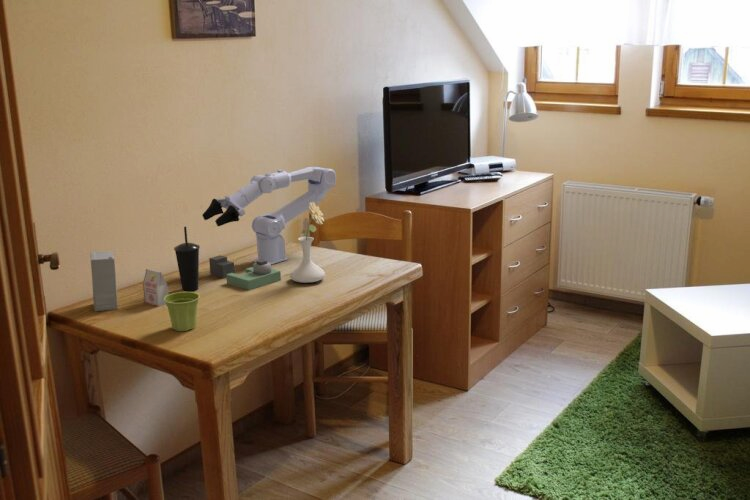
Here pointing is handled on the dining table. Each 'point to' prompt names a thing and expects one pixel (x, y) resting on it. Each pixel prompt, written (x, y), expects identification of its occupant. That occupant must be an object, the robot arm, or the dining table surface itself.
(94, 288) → the skincare box
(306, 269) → the flower in vase
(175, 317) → the plant pot
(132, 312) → the dining table surface
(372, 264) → the dining table surface
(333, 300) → the dining table surface
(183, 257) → the drinking cup
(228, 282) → the sage green base plate
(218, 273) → the notched gray block
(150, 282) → the white printed carton
